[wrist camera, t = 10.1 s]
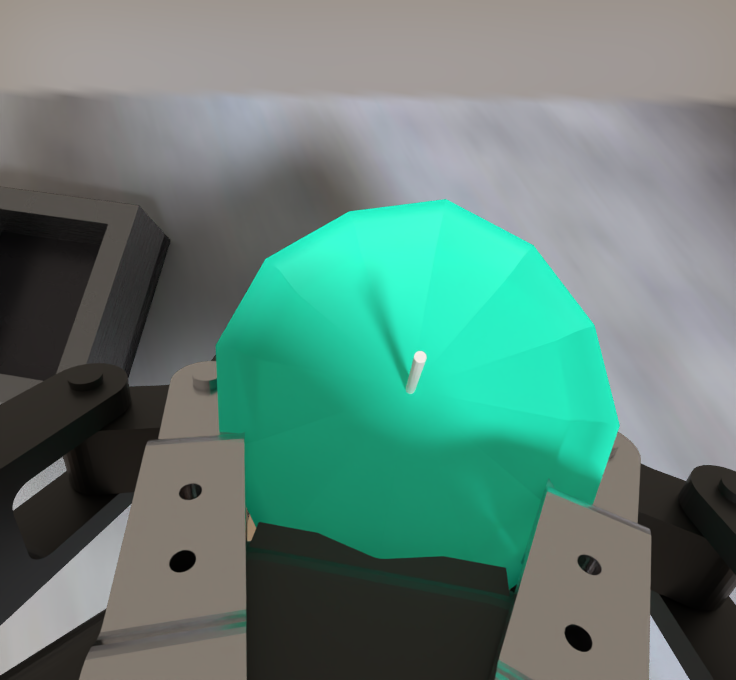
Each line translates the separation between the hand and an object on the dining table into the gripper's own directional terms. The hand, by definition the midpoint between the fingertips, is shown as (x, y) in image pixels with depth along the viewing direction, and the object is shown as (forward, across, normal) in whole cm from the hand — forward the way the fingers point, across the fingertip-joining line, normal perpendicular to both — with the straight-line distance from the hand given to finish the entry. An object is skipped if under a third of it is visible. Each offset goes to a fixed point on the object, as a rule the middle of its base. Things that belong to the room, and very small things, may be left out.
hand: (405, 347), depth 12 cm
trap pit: (+7, +16, +5) cm, 18 cm away
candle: (+3, 0, +5) cm, 6 cm away
